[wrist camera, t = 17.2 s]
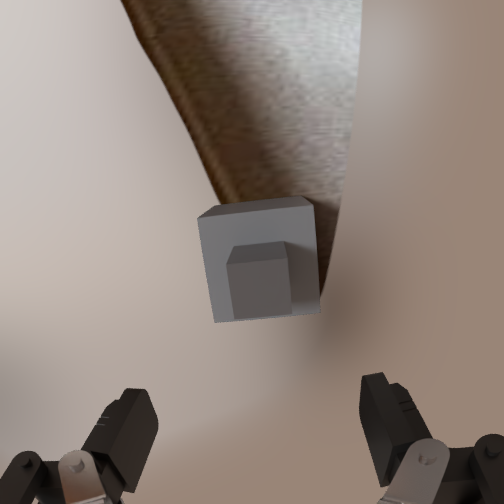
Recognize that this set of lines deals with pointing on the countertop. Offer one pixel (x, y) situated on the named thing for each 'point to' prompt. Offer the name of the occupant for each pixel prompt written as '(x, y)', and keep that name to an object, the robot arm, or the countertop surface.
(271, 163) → the countertop surface
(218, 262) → the stepped gray cube pair
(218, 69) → the countertop surface
